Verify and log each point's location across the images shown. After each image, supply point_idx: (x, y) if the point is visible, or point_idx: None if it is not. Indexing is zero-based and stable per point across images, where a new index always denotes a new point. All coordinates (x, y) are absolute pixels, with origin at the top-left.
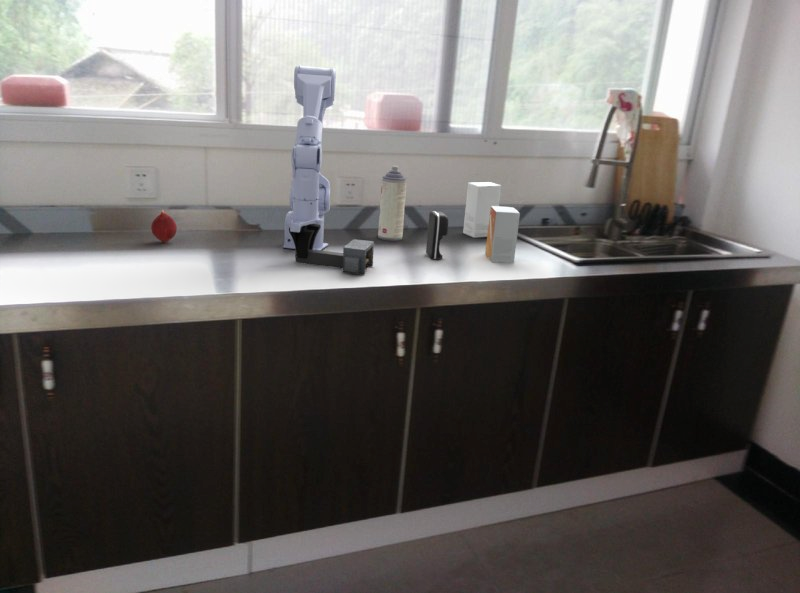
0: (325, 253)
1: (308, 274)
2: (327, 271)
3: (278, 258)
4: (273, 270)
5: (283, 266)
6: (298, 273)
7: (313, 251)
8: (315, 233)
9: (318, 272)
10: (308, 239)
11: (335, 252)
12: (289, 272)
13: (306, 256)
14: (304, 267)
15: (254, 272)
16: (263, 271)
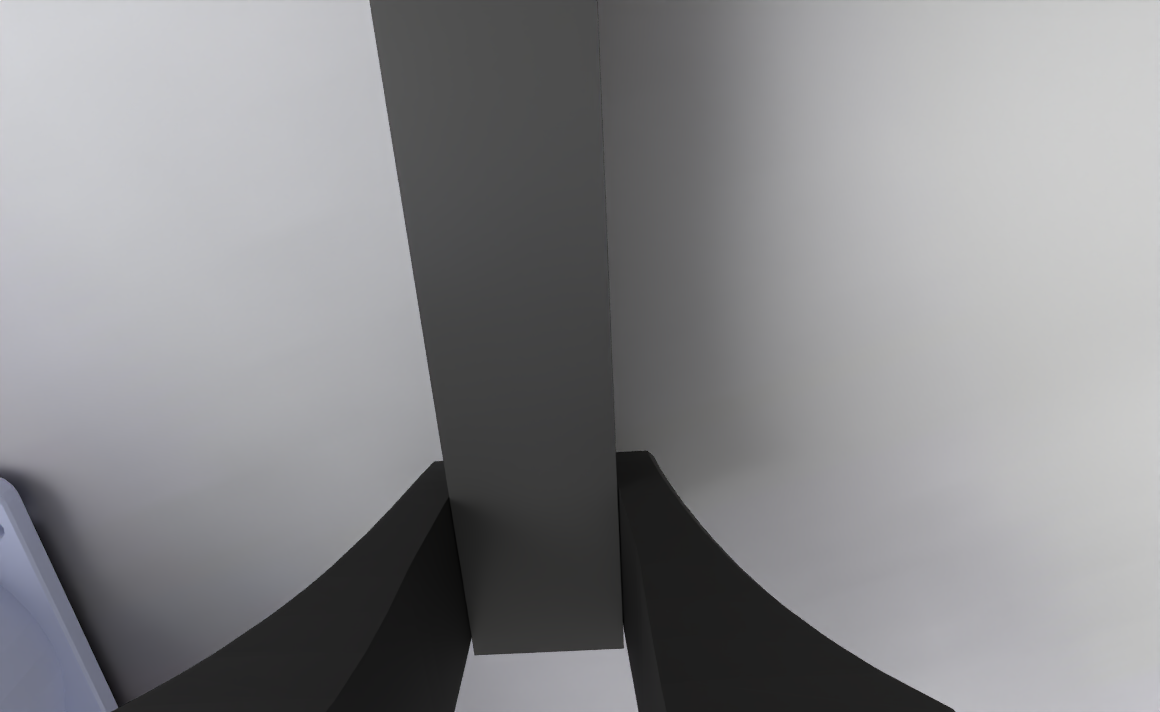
0: (587, 208)
1: (1077, 219)
2: (847, 24)
3: (541, 703)
4: (1001, 594)
5: (815, 572)
6: (1058, 344)
7: (565, 431)
8: (350, 689)
9: (942, 131)
10: (825, 639)
11: (403, 49)
12: (1038, 443)
13: (653, 461)
14: (766, 377)
15: (1116, 693)
16: (1062, 649)
